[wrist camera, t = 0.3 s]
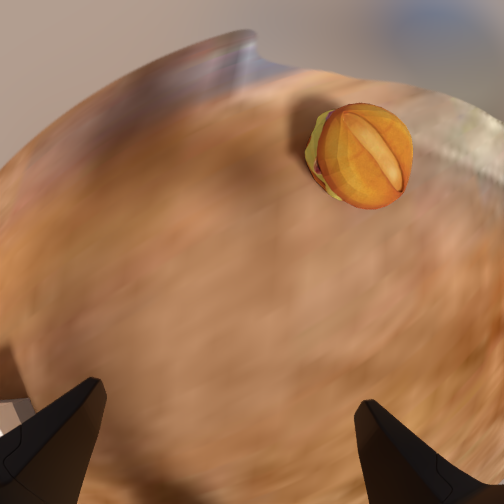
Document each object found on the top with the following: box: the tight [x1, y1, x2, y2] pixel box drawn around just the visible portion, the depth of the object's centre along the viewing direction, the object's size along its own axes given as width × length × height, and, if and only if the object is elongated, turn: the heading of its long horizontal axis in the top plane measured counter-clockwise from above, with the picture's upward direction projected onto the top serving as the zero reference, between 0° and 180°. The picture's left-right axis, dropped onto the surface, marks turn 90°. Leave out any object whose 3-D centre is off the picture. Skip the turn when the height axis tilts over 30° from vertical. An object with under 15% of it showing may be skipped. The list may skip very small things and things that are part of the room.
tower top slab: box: [0, 402, 22, 437], centre depth 13 cm, size 9×9×4 cm
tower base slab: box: [0, 398, 36, 424], centre depth 16 cm, size 9×9×4 cm
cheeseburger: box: [305, 103, 413, 209], centre depth 23 cm, size 10×11×10 cm
